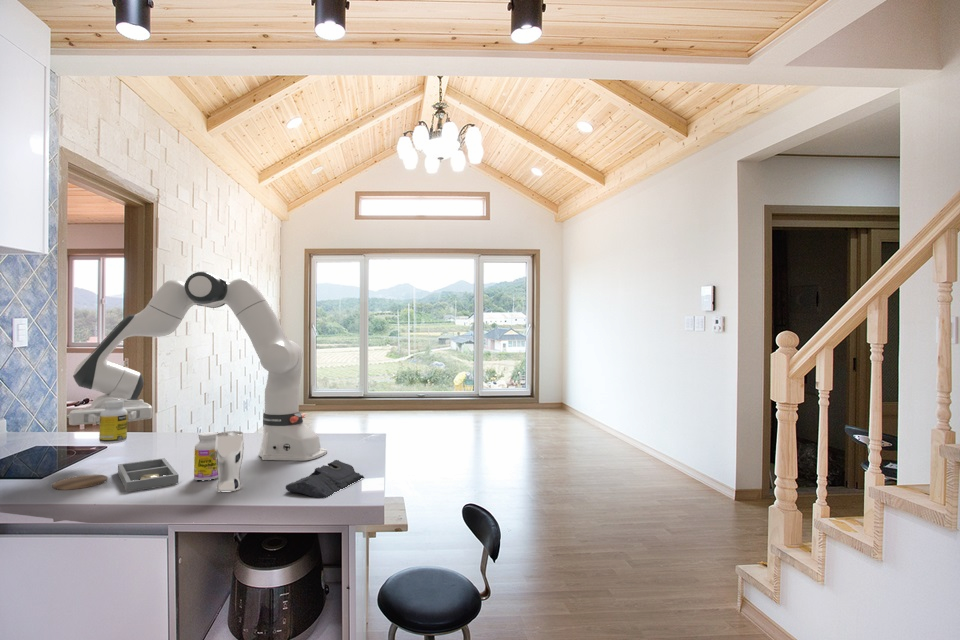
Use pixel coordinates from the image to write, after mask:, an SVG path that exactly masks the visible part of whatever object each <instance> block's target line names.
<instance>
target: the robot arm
mask: <svg viewBox="0 0 960 640" xmlns="http://www.w3.org/2000/svg"><path fill="white" fill-rule="evenodd" d="M225 305H227V306H228V307H229V308H230V310H231V311H232V313H233V314H234V316H235V317H236V318H237V320H238V321H239V322H238V323H239V324H240V325H241V326H242V328H243V330H244V331H245V332H246V334H247V336H248V337H249V339H250V341H251V344H252V347H253V348H254V351H255V353H256V355H257V357H258V359H259V362H260V364H261V366H262V368H263V369H264V370H266V371H267V379H266V386H265V389H264V412H263V415H262V425H263V433H262V440H261V445H260V449H259V452H258V456H259V457H261V460H263V461H294V462H295V461H296V462H297V461H303V462H304V461H310V460H311V461H312V460H314V459H317V458H318V459H319V458H320V457H322V456H324V455H326V454H327V453H328V449H327V448H323V447H321V440H320V437H319V435H318V434H317V433H316V432H315V431H314V430H312V429H311V428H310V427H309V426H308V425H307V424H305V423H304V419H305V418H306V413H304V414H301V412H300V411H299V409H300V408H299V407H300V406H299V401H300V384H301V374H302V368H303V367H302V365H303V349H302V348H301V346H300V345H299V344H298V343H297V342H295V341H294V340H291V339H288V338H287V336H286V333H285V331H284V329H283V328H282V326H281V323H280V319H279V318H278V317H277V315H276V314H275V312H274V310H273V308H272V307H271V306H270V304H269V302H268V301H267V299H266V298H265V297H264V295H263V293H261V291H260V290H259V289H258V287H257V286H255V284H254V283H253V282H252V281H251V280H249V279H248V278H244V277H242V278H237V279H234V280H231V281H228V282H227V281H226V279H223V278H222V277H220V276H218V275H216V274H214V273H211V272H208V271H198V272H194V273H192V274H190V275H189V276H188V277H187V279H186V281H185V282H184V281H181V280H177V279H169V280H167V281H165V282H164V283H163V284H161V286H160V288H158V289H157V291H156V292H155V293H154V294H153V296H152V297H151V298H150V300H149V301H148V304H146V306H145V308H144V309H142V310H140V311H139V312H138V313H135V314H129V315H127V316H126V317H124V318H123V319H122V320H121V321H120V322H119V323H118V324H117V325H116V326H115V327H114V328H113V329H112V330H111V331H110V332H109V333H108V334H107V336H106V337H105V338H104V339H103V340H102V341H101V342H100V343H99V344H98V345H97V346H96V347H95V349H94V350H93V351H92V352H91V353H89V355H88V356H87V357H86V358H84V359H82V361H80V363H78V365H77V367H76V368H75V369H74V372H73V376H72V377H73V379H74V381H75V383H76V385H78V387H80V388H84V389H89V390H93V391H96V392H99V393H101V394H99V395H97V396H96V397H95V398H94V399H93V400H92V402H91V405H90V408H80V409H79V408H77V409H72V410H70V412H69V413H68V414H67V415H66V417H67V418H68V425H70V426H78V425H91V424H94V425H95V424H97V425H99V426H100V413H101V412H102V411H103V410H105V407H104V402H105V401H112V400H123V401H124V406H123V409H125V410H126V411H127V423H131V422H136V421H137V422H138V421H142V420H149V419H152V418H153V406H152V405H151V404H149V403H148V402H145V401H144V399H141V398H140V399H139V396H140V394H141V393H142V390H143V387H144V382H145V381H144V376H143V374H142V373H141V372H140V371H137V370H135V369H133V368H130V367H127V366H123V365H120V364H117V363H115V362H113V361H110V360H108V359H107V358H108V357H109V356H110V355H111V354H112V352H113V351H115V349H116V348H117V347H118V346H119V344H121V343H122V342H123V341H124V340H125V339H128V338H130V337H149V338H154V337H155V338H158V337H165V336H168V335H171V334H173V333H174V332H175V331H176V329H178V327H179V326H180V325H181V322H182V321H183V319H184V318H185V315H186V314H187V313H188V311H189V310H190V309H191V308H193V306H197V307H205V308H209V309H210V308H211V309H217V308H218V309H219V308H220V307H223V306H225Z"/></svg>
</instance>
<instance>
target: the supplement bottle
mask: <svg viewBox="0 0 960 640" xmlns="http://www.w3.org/2000/svg"><path fill="white" fill-rule="evenodd" d="M216 434H218V433H217V432H215V431H209V432H207V431H205V432H201V433H198V440H199V442H197V443H196V444H195V445H194V457H193V459H194V463H193V465H194V468H193V478H194V480H195V481H197V480H208V481H211V480H210V479H214V478H216V479H218V478H217V477H218V470H217V465H216V458H215V443H216ZM214 480H215V479H214Z"/></svg>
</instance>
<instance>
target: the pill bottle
mask: <svg viewBox="0 0 960 640" xmlns="http://www.w3.org/2000/svg"><path fill="white" fill-rule="evenodd" d="M123 406H124V401H123V400H112V401H105V402H104V407H105V410H103V411H102V412H101V413H100V425H99V440H98V441H99V442H100V444H104V445H106V444H107V445H111V444H119V443H123V442H125V441H126V440H127V437H128V422H127V411H126V410H125V409H123Z"/></svg>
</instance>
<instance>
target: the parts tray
mask: <svg viewBox="0 0 960 640" xmlns="http://www.w3.org/2000/svg"><path fill="white" fill-rule="evenodd" d="M117 474H118V476H119V479H120V480H121V481H120V482H121V483H122V485H123V487H124V489H125V492H126V493H130V492H136V491H141V490H147V489H153V488H154V489H155V488H159V487H165V486H166V485H167V486H172V485H171V484H173V485H177V484H176V483H178V484H179V479H180V478H179V473H178V472H177V471H176V469H174V467H173V466H172V465H171V464H170V463H169V461H167V459H166V457H164V458H156V459H149V460H139V461H133V462H126V463H118V464H117ZM148 474H159V476H160V477H154V478H147V479H141V476H144V475H148ZM163 475H167V476H163ZM138 479H140V480H138ZM132 480H134V481H132ZM167 486H166V487H167Z"/></svg>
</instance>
